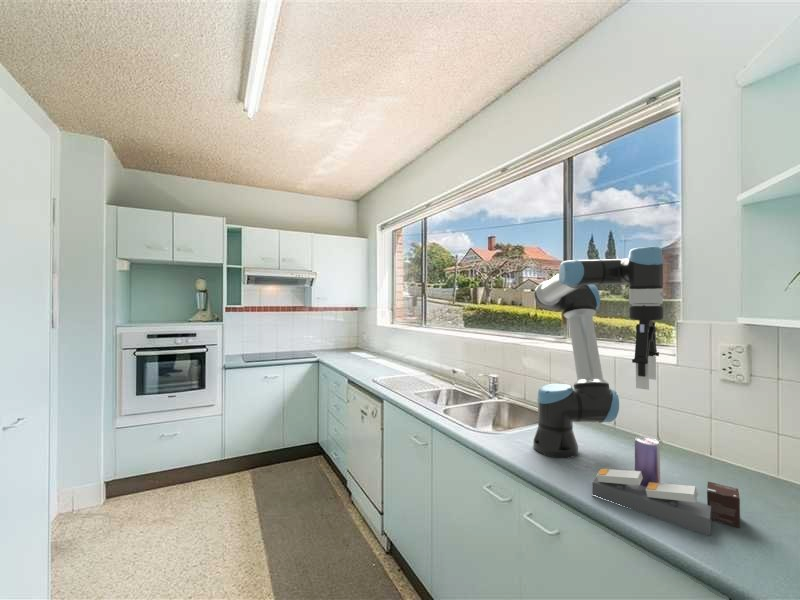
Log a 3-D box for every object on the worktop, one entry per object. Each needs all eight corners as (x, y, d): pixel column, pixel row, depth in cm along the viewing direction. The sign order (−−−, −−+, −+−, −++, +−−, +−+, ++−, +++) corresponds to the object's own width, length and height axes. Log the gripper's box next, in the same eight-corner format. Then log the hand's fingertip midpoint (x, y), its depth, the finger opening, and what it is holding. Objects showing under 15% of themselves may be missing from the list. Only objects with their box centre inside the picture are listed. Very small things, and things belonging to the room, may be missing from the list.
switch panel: (592, 496, 101) (592, 479, 101) (599, 486, 106) (599, 470, 106) (709, 536, 83) (709, 515, 83) (711, 522, 89) (711, 502, 89)
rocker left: (598, 481, 100) (596, 474, 101) (603, 475, 104) (601, 467, 104) (639, 485, 94) (637, 477, 94) (642, 478, 97) (640, 470, 98)
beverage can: (649, 499, 98) (648, 445, 98) (629, 488, 104) (629, 437, 104) (665, 496, 100) (665, 442, 100) (645, 485, 106) (645, 435, 106)
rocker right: (647, 497, 93) (645, 488, 93) (651, 489, 96) (648, 481, 96) (696, 502, 86) (693, 493, 86) (697, 493, 89) (695, 485, 90)
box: (739, 517, 90) (739, 488, 90) (740, 529, 86) (740, 499, 86) (707, 508, 94) (707, 480, 94) (707, 519, 90) (706, 490, 90)
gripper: (656, 306, 85) (657, 395, 85) (668, 303, 103) (668, 377, 103) (620, 306, 90) (620, 390, 90) (637, 303, 108) (637, 373, 108)
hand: (646, 383), depth 97 cm, fingers open, 13 cm apart
